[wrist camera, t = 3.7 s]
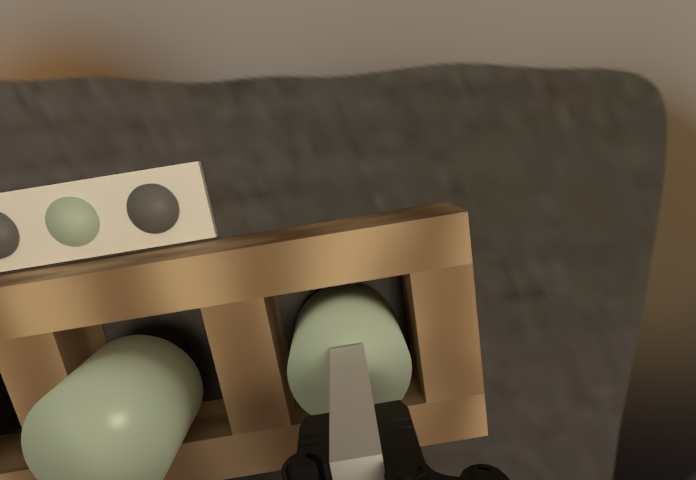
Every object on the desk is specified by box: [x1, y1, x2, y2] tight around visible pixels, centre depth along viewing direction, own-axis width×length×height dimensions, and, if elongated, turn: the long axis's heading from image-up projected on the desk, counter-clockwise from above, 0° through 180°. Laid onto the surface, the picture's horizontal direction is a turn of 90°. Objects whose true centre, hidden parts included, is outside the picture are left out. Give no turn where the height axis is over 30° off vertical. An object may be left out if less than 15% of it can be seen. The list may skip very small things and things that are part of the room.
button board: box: [0, 202, 488, 480], centre depth 21 cm, size 33×12×4 cm, turn 99°
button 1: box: [287, 283, 412, 415], centre depth 20 cm, size 6×6×4 cm
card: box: [0, 161, 218, 272], centre depth 21 cm, size 14×4×1 cm, turn 99°
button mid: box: [21, 335, 203, 480], centre depth 17 cm, size 6×6×4 cm
